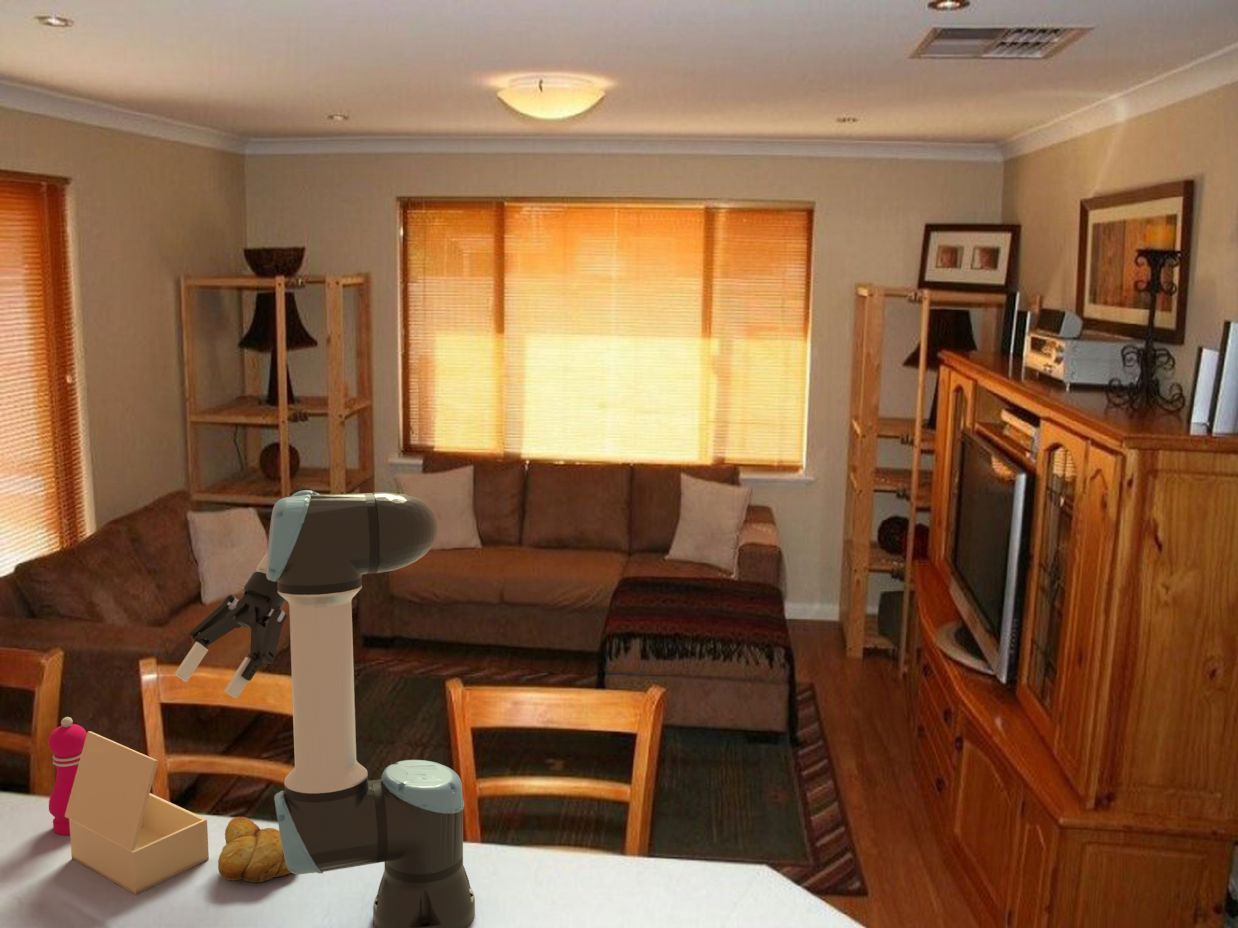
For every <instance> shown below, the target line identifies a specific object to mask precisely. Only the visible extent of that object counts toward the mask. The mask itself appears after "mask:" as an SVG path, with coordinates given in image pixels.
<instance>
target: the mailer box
mask: <svg viewBox="0 0 1238 928" xmlns="http://www.w3.org/2000/svg"><path fill="white" fill-rule="evenodd" d="M69 824H70V835H69V836H70V837H69V838H70V850H71V851H70V852H71V860H73V861H75V862H77V863H79V864H81V865H82V866H84V867H86V868H87V869H89V870H91V871H93V872H95V873H96V874H98V875H100V876H102V877H103V878H105V879H107V880H109V881H110V882H113V883H115V884H116V885H118V886H120V887H121V888H123V889H126V891H129V892H130V893H131V894H134V895H138V894H140V893H142V892H144V891H146V890H147V889H151V888H152V887H155V886H157V885H158V884H161V883H163V882H165V881H167V880H168V879H169V880H170V879H171V878H174V877H175V876H177V875H179V874H181V873H183V872H185V871H187V870H189V869H191V868H193V867H195V866H198V865H200V864H202V863H204V862H206V861H208V860H210V857H209V836H208V835H209V832H208V831H209V830H208V819H206V818H204V817H202V816H200V815H198V814H197V813H194V812H192V811H190V810H187V809H185V808H183V807H181V806H179V805H177V804H174V803H172V802H170V801H168V800H166V799H164V798H161V797H160V796H157V795H155V794H153V793H151V792H150V793H149V797H148V801H147V805H146V809H145V812H144V816H143V820H142V824H141V828H140V831H139V835H138V839H137V843H136V847H135V850H134V851H130V850H128V849H126V848H124V847H122V846H120V845H118V844H116V843H114V842H113V841H111V840H109V839H107V838H105V837H103V836H101V835H99V834H97V833H95V832H93V831H92V830H90V829H88V828H86V827H84V826H82V825H80V824H78V823H76V822H74V821H72V820H71V819H69Z"/></svg>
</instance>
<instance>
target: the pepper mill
mask: <svg viewBox="0 0 1238 928" xmlns="http://www.w3.org/2000/svg"><path fill="white" fill-rule="evenodd" d="M60 724H61V725H60V726H58V727H56V728H55V729H54V730H52V731H51V733H50V734H49V737H48V740H47V741H48V743H47V744H48V745H47V746H48V748H49V751H50V752H52V753H53V755H52V759H53V761H52V764H53V765H55V768H56V775H55V776H56V777H55V784H54V786H53V788H52V791H51V793H50V795H49V800H48V811H49V813H50V814H51V815H52V816H53V817H54V818H53V819H52V828H53V832H54V833H55V834H57V835H60V836H70V824H69V818H67V817H65V813H66V809H67V805H68V802H69V798H70V794H71V791H72V787H73V783H74V780H75V776H76V772H77V769H78V765H79V761H80V758H81V754H82V750H83V747H84V743H85V739H86V736H87V731H86V729H85V728H84V727H82V726H81V725H80V724H74V723H73V719H72V717H71V716H70V717H69V716H66V717H64V718H62V719H61V721H60Z"/></svg>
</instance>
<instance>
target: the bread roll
mask: <svg viewBox="0 0 1238 928" xmlns="http://www.w3.org/2000/svg"><path fill="white" fill-rule="evenodd" d="M224 832H225V833H224V839H225V845H224V846H223V848H222V849H221V852H220V854H219V856H218V862H217V869H218V873H219V874H220V875H221V876H222V877H223V878H224V879H226V880H228V881H237V880H238V881H240V880H241V879H242V880H244V881H246V882H252V883H253V882H257V883H258V882H259V883H261V882H265V881H268V880H271V879H273V877H274V878H276V877H283V876H286V875H289V874H291V873H292V872H290V871H289V870H288V868H287V866H286V863H285V858H284V853H283V848H282V843H281V837H280V831H279V829H276V828H274V827H266V828H260V827H259V826H258V825H257V824H256V823H255V822H254V820H251V819H250V818H248V817H246V816H236V817H233V818H232V819H231V820H229V821H228V824H227V826H226V828H225V831H224Z"/></svg>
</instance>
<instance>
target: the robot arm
mask: <svg viewBox="0 0 1238 928" xmlns="http://www.w3.org/2000/svg"><path fill="white" fill-rule="evenodd" d="M271 512H272V513H271V518H270V524H269V531H268V532H269V533H268V543H267V552H266V553H265V554H264V555H263V558H262V559H261V560H260V562H259V563H258V564H257V566H256V568H255V570H256V571H254V572H252V574H251V576H250V577H249V579H248V580H247V582H246V583H245V585H244V586H243V591H244V594H243V596H242V597H241V598H240V599H238V598H236V597H235V596H233V595H232V594H229V595H227V597H226V598H225V599H224V601H223V602H222V604H220V605H219V606H218V607H217V608H216V609H215V610H214V611H212V613H210V614H209V615H208V616H206V618H204V619H203V620H202V621H201V622H200V623H199V624H198V625H196V626H195V627H194V628H193V629H192V630H191V631H190V632H189V634H188V635H189V636H190V637H191V638H192V639H193V643H192V644H191V646H190V648H189V649H188V651H187V652H186V653H185V654H184V655H185V656H184V659H183V660H182V662H181V663H180V665H179V666H178V668H177V670H175V673H174V675H175V676H176V677H177V678H179V679H180V680H182V681H183V682H185V683H188V682H189V680H190V678H191V677H192V675H194V672H195V671H196V670H197V668H198V666H199V665H200V663H201V662H202V660H203V659H204V657H205V656H206V655H207V654H208V652H209V646H210V645H212V644H213V643H214V642H216V641H218V640H219V639H221V638H222V637H224V636H225V635H227V634H228V633H230V632H231V631H233V630H235V629H239V628H249V629H250V653H249V654H247V656H248V657H247V656H245V657H244V659H243V660H242V662H241V663H240V665H239V666H238V668H237V670H236V671H235V672H234V674H233V676H232V677H231V679H230V680H229V682H228V684H227V685H226V687H225V689H224V690H223V692H225V693H226V694H227V695H229V696H230V697H232V698H233V699H235V700H237V699H238V698H239V696H240V695H241V693H242V692H243V691H244V689H245V687H246V685H247V684H248V683H249V682H250V681H251V680H252V679H253V677H254V676H255V674H256V673H257V671H258V670H259V668H260V667H261V666H262V665H264V664H269V665H272V664H273V663H274V662H275V659H276V655H277V650H278V647H279V646H278V645H279V641H280V637H281V633H282V628H283V625H284V624H285V622H286V619H287V618H288V614H287V613H286V612H285V611H284V610H283V609H282V608H283V606H284V605H285V603H286V602H288V605H289V607H288V608H289V612H288V613H289V634H290V638H289V639H290V663H291V664H290V665H291V690H292V693H291V694H292V695H291V696H292V718H293V719H292V721H293V722H292V723H293V724H292V725H293V746H294V747H293V748H294V750H293V752H294V753H293V754H294V768H293V769H292V770H291V771H290V772H289V773H288V774H287V775H286V776H285V778H284V781H283V782H284V790H280V791H279V792H277V793H276V794H275V795H274V796H273V798H274V806H275V813H276V819H277V823H278V824H277V825H278V831H280V837H281V843H282V848H283V853H284V858H285V863H286V866H287V868H288V870H289V871H290V872H291V873H292V874H295V875H305V874H306V875H307V874H314V873H315V874H316V873H317V874H320V875H321V874H323V873H324V872H325V873H326V872H331V871H336V870H344V869H350V868H356V867H361V866H366V865H373V864H379V863H384V865H383V866H384V868H383V869H384V870H383V873H382V876H381V880H380V882H379V885H378V886H379V887H378V890H377V894H376V895H375V898H374V900H373V901H374V902H373V907H372V910H373V911H372V918H373V926H374V928H468V927H469V926H470V925H471V924H472V922H473V920H474V918H475V914H476V913H475V912H476V902H475V901H476V900H475V899H476V898H475V894H474V891H473V889H472V887H471V883H470V880H469V877H468V875H467V872H466V869H465V866H464V808H465V801H464V794H463V784H462V780H461V778H460V776H459V775H458V773H456V771H455V770H453V769H452V768H450V767H448V766H446V765H444V764H441V763H439V762H435V761H430V760H425V759H424V760H422V759H405V760H400V761H397V762H395V763H394V764H390V765H388V766H387V767H385V768H384V771H383V772H382V774H381V779H374V780H369V778H368V774H369V773H368V770H367V768H365V767H364V766H363V765H362V764H360V762H358V760H357V742H356V741H357V740H356V739H357V738H356V737H357V734H356V707H355V706H356V705H355V676H354V674H355V672H354V645H353V643H354V642H353V641H354V640H353V617H352V616H353V615H352V614H353V610H352V607H353V606H352V601H353V598H354V597H355V596H356V595H357V594H358V593H359V591H361V590H362V589H363V584H362V583H363V581H362V576H363V575H367V574H379V573H386V572H391V571H395V570H399V569H402V568H404V567H406V566H407V567H408V566H409V565H412V564H413V563H415V562H417V561H418V560H420V559H422V558H423V557H424V556H426V555H427V553H429V551H430V550H431V549H432V548H433V546H434V544H435V542H436V540H437V536H438V532H439V530H438V529H439V527H438V526H439V524H438V520H437V519H438V518H437V517H436V514H435V512H434V510H433V509H432V508H431V506H430V505H428V504H427V503H426V501H424V500H422V499H420V498H418V497H415V496H411V495H408V494H404V493H396V492H387V491H384V492H383V491H379V492H378V491H375V492H364V493H363V492H362V493H359V492H358V493H329V494H328V493H327V494H321V493H318V492H317V491H314V490H308V489H307V490H299V491H297V492H294V493H293V494H292V495H291V496H287V497H282V498H280V499H278V500H277V501H276V502H275V503H274V506H273V508H272V511H271Z"/></svg>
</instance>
